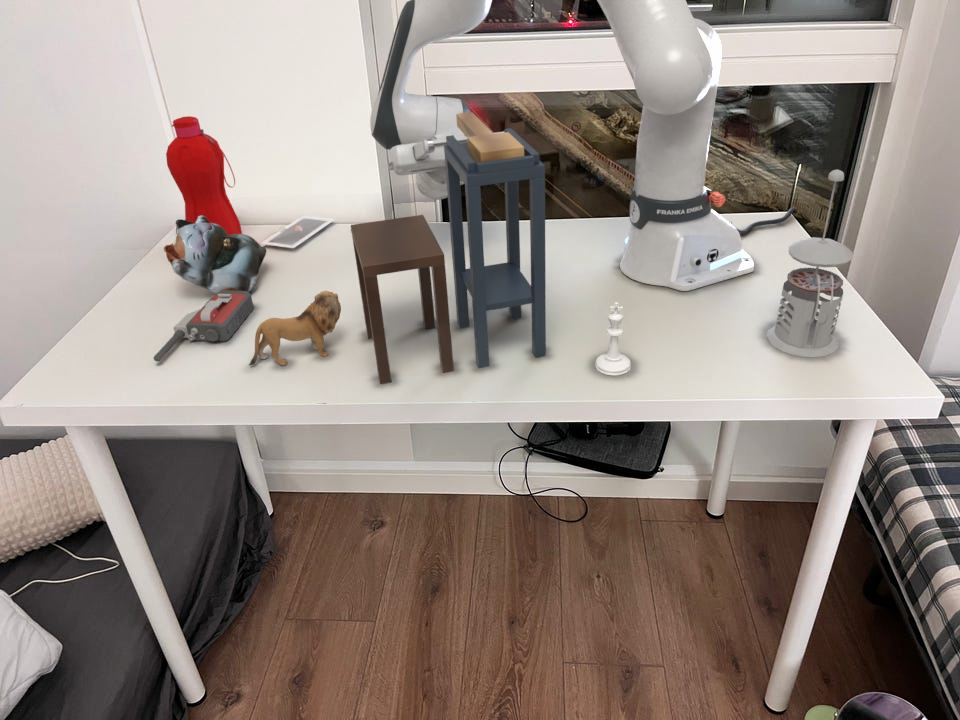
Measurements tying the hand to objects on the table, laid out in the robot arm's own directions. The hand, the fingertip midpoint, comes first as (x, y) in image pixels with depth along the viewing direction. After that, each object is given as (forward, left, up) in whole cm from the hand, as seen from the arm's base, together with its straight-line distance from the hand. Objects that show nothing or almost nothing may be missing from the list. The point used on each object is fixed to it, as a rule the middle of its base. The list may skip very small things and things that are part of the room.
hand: (459, 140), depth 117 cm
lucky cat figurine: (+41, -13, -25) cm, 50 cm away
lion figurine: (+29, +15, -25) cm, 41 cm away
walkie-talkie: (+43, +4, -25) cm, 50 cm away
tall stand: (0, +20, -24) cm, 32 cm away
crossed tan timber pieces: (0, +15, +4) cm, 16 cm away
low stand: (+14, +19, -24) cm, 34 cm away
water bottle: (+42, -31, -25) cm, 58 cm away
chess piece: (-13, +33, -25) cm, 43 cm away
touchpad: (+27, -31, -25) cm, 48 cm away
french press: (-41, +36, -25) cm, 60 cm away
